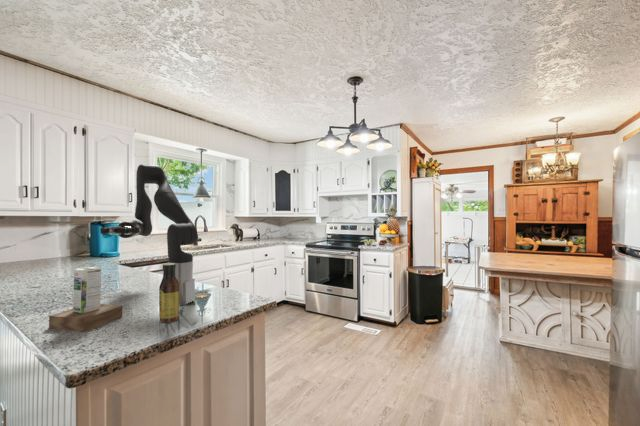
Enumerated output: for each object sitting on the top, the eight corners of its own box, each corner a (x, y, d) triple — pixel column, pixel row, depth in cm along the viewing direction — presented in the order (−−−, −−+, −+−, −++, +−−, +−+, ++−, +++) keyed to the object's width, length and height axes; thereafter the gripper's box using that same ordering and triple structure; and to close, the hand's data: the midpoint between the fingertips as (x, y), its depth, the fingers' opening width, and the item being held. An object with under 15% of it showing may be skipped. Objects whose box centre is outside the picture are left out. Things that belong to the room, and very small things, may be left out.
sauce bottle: (163, 317, 107) (164, 262, 107) (181, 317, 108) (182, 262, 108) (155, 324, 100) (156, 265, 101) (174, 323, 101) (175, 264, 101)
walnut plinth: (122, 316, 108) (122, 305, 108) (85, 331, 94) (85, 318, 94) (89, 314, 110) (89, 303, 110) (48, 328, 96) (49, 315, 96)
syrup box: (71, 312, 100) (72, 268, 101) (91, 307, 106) (91, 266, 106) (82, 314, 98) (83, 270, 98) (101, 309, 104) (101, 267, 104)
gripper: (111, 221, 139) (95, 222, 124) (145, 221, 143) (133, 222, 127) (111, 237, 139) (94, 240, 123) (145, 237, 143) (133, 239, 127)
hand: (114, 231), depth 125 cm, fingers open, 8 cm apart
